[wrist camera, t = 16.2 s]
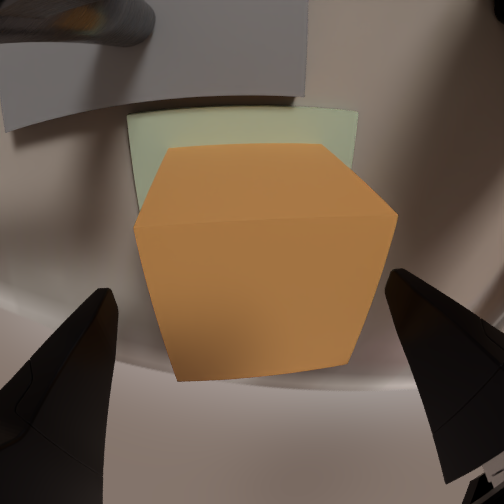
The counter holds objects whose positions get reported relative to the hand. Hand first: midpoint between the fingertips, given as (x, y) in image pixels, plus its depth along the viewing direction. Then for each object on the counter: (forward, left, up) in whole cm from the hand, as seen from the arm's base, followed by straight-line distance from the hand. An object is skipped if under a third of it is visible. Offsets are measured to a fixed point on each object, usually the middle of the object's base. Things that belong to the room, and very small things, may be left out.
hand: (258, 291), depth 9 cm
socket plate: (+4, -15, -5) cm, 16 cm away
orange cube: (0, 0, -5) cm, 5 cm away
